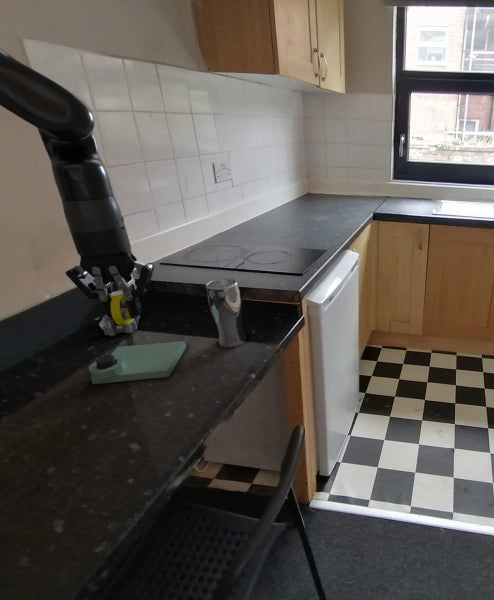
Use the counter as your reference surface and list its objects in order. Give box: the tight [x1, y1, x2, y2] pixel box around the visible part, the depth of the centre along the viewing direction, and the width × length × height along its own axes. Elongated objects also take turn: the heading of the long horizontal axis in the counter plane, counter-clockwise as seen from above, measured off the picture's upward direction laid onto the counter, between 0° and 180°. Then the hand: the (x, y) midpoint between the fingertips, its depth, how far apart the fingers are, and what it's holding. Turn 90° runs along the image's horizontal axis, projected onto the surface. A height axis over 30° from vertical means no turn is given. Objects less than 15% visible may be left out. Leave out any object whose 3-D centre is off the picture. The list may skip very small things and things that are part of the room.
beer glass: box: [205, 277, 247, 348], centre depth 92 cm, size 7×7×15 cm
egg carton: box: [98, 307, 141, 337], centre depth 102 cm, size 11×8×4 cm
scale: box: [88, 341, 187, 385], centre depth 85 cm, size 14×13×4 cm
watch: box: [110, 290, 134, 326], centre depth 73 cm, size 6×3×6 cm, turn 11°
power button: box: [95, 354, 116, 369], centre depth 80 cm, size 3×3×2 cm
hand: (126, 317), depth 74 cm, fingers closed on watch, 2 cm apart
